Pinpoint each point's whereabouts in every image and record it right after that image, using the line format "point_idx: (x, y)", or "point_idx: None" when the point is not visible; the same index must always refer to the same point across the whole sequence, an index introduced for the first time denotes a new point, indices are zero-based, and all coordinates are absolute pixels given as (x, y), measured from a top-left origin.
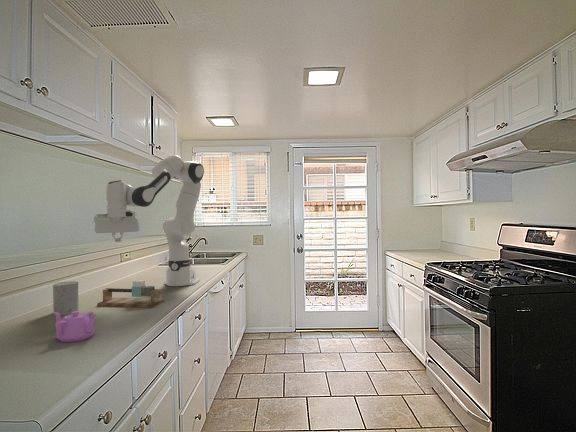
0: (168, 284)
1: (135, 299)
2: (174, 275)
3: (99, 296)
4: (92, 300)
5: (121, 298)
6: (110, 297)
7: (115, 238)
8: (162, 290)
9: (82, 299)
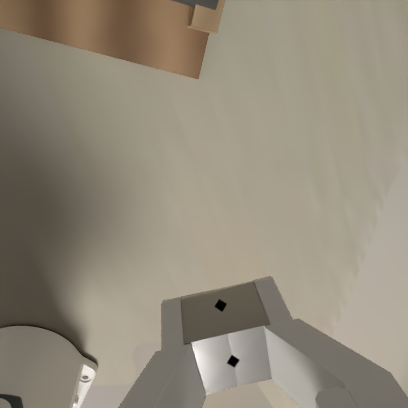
0: (59, 340)
1: (51, 4)
2: (12, 372)
3: (287, 164)
4: (295, 80)
5: (144, 44)
6: (191, 10)
7: (274, 322)
8: (45, 261)
9: (346, 109)
